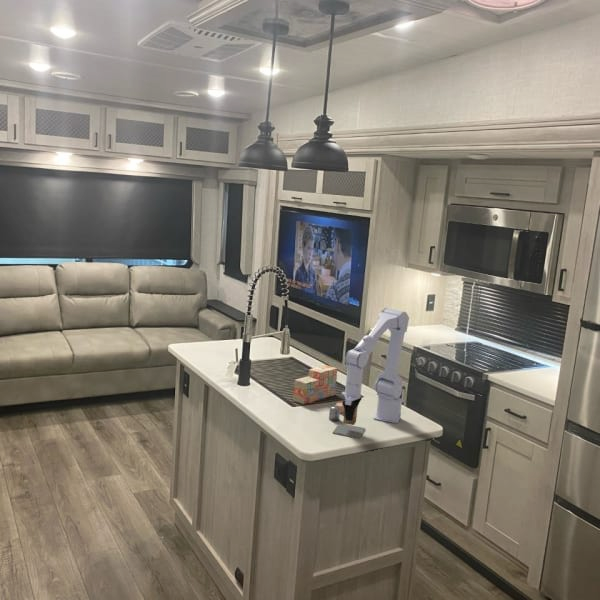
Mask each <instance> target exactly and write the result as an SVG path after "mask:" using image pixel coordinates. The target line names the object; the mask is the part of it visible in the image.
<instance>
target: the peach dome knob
mask: <svg viewBox="0 0 600 600" xmlns="http://www.w3.org/2000/svg"><path fill="white" fill-rule="evenodd" d="M335 406H339V407H340V415H344V406H343V404H342V402H337V403H336V404H335Z"/></svg>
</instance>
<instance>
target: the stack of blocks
mask: <svg viewBox="0 0 600 600" xmlns="http://www.w3.org/2000/svg"><path fill="white" fill-rule="evenodd" d="M337 380H338V368H337V367H334V366H330V365H328V364H326V365H320V366H317V367H313V368H310V369H309V370H308V376H304V377H300V378H297V379H294V387H293V394H292V395H293V396H292V397H293V398H292V401H294V402H297V403H299V404H302V405H307V404H311V403H314V402H316V401H320V400H322V399H327V398H329V397H333V396H335V395H336V389H337V388H336V387H337Z"/></svg>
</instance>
